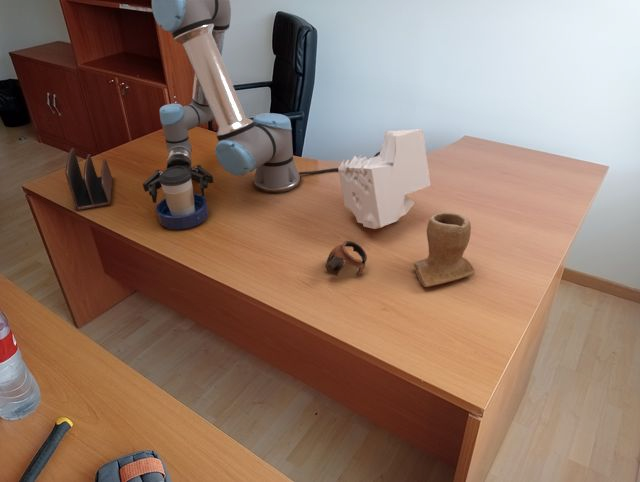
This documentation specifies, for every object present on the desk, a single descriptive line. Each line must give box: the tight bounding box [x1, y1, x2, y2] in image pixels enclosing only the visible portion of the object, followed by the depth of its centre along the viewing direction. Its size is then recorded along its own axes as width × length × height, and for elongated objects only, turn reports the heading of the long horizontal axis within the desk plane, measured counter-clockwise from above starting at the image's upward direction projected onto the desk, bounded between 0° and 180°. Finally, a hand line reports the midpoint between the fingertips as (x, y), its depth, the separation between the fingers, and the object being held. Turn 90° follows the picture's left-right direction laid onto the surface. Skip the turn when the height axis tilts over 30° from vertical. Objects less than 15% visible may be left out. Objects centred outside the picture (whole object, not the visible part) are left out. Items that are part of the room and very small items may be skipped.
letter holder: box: [64, 147, 113, 211], centre depth 157 cm, size 10×20×14 cm, turn 18°
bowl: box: [155, 192, 210, 231], centre depth 145 cm, size 15×15×4 cm
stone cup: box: [413, 212, 475, 288], centre depth 117 cm, size 15×12×15 cm
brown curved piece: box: [325, 240, 368, 277], centre depth 121 cm, size 12×10×8 cm
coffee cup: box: [159, 166, 195, 216], centre depth 142 cm, size 9×9×15 cm
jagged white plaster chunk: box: [337, 128, 431, 230], centre depth 137 cm, size 20×16×25 cm
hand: (178, 195), depth 139 cm, fingers open, 13 cm apart
